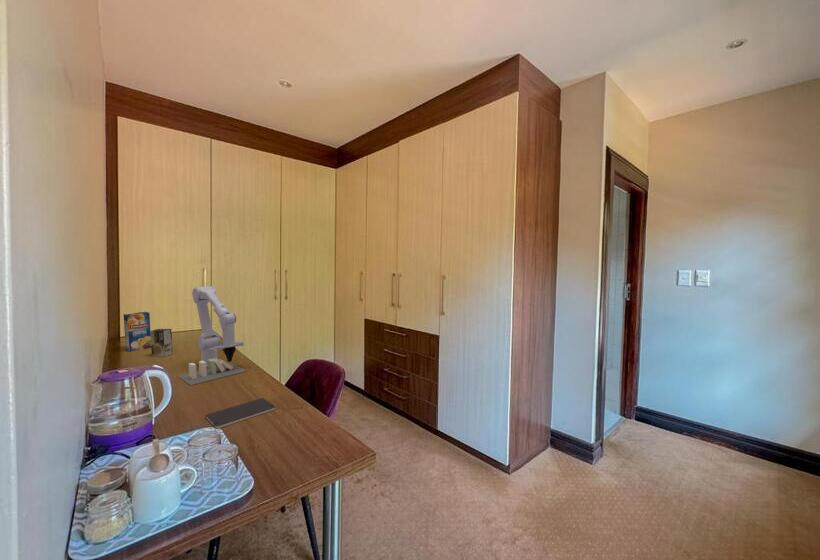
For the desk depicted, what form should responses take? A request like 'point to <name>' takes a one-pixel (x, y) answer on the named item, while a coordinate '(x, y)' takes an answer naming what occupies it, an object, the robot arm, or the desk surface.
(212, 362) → the sage domino
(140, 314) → the blue food box
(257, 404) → the notebook
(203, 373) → the domino
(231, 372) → the charcoal mat
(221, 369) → the domino
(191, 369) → the domino
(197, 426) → the desk surface
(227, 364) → the domino
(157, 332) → the coffee box
